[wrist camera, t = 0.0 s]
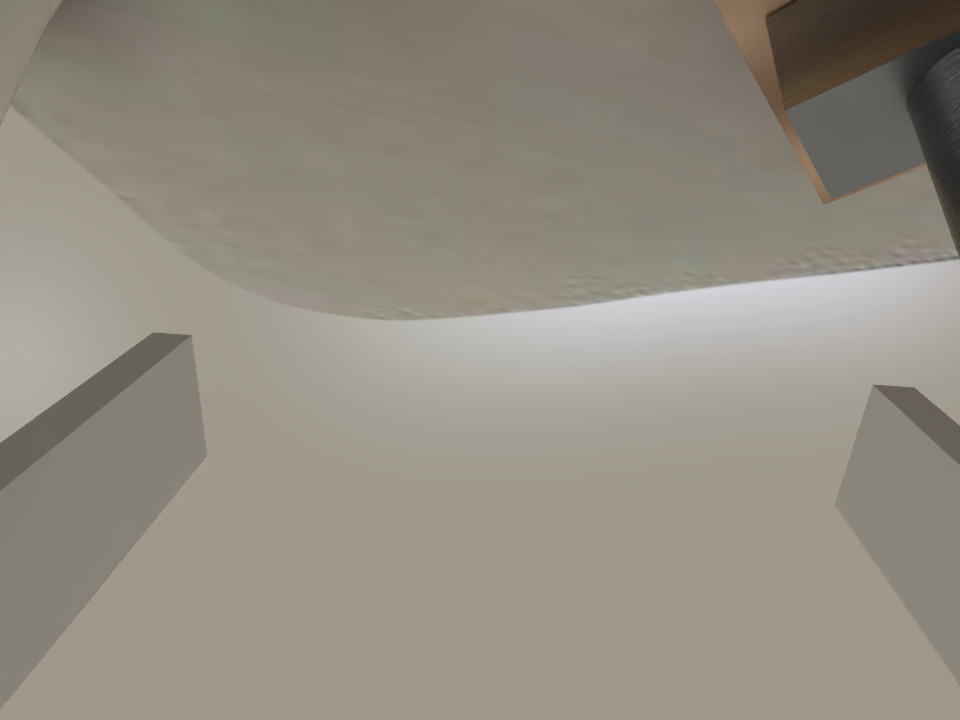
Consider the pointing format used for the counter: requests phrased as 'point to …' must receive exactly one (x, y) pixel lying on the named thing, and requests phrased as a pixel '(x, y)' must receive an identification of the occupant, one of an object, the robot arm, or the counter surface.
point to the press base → (771, 70)
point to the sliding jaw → (874, 90)
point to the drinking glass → (20, 41)
